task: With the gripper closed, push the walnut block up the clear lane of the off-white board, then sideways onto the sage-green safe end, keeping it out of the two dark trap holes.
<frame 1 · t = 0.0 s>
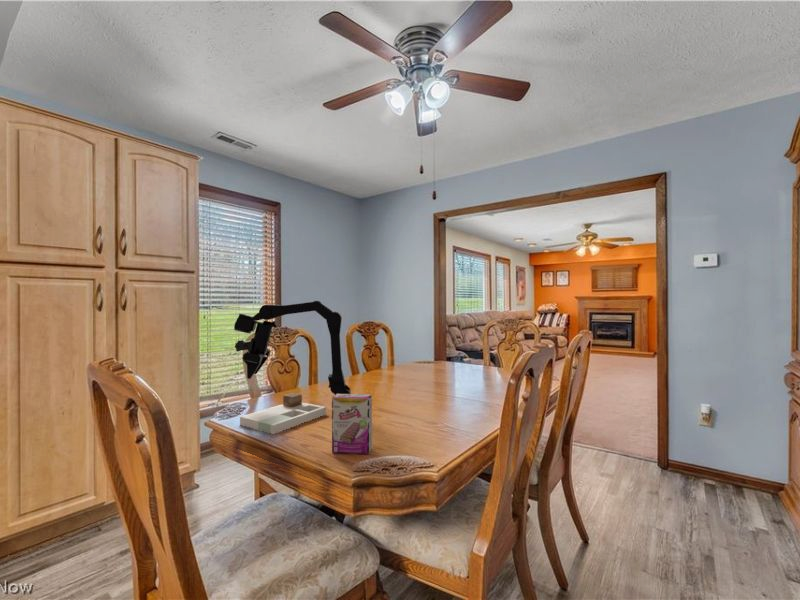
hand: (251, 376, 147), 15 cm above the table, tool pointing down, fingers open, 9 cm apart
walnut block: (292, 405, 151), point 3 cm above the table, touching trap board
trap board: (284, 419, 142), on the table
candy bar box: (352, 451, 112), on the table
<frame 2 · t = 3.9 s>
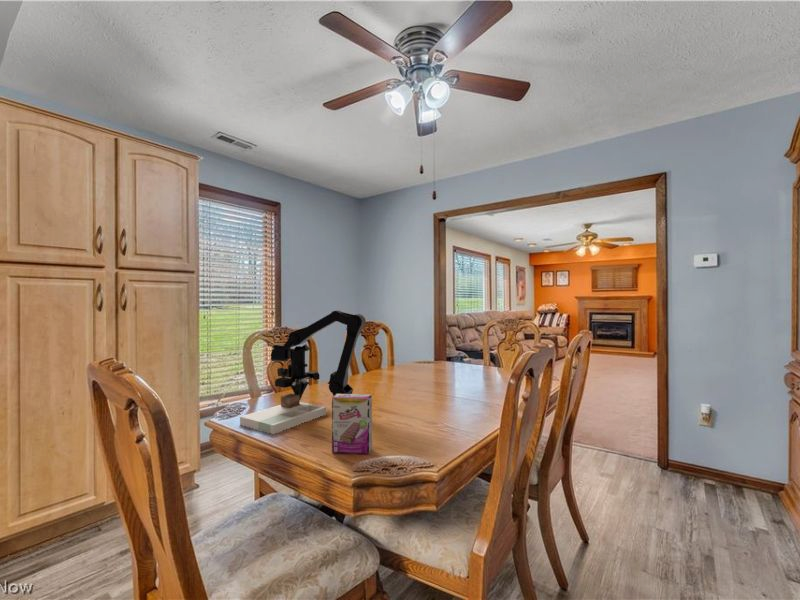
hand: (298, 400, 154), 4 cm above the table, tool pointing down, fingers closed
walnut block: (290, 405, 150), point 3 cm above the table, touching gripper
everything else where it was.
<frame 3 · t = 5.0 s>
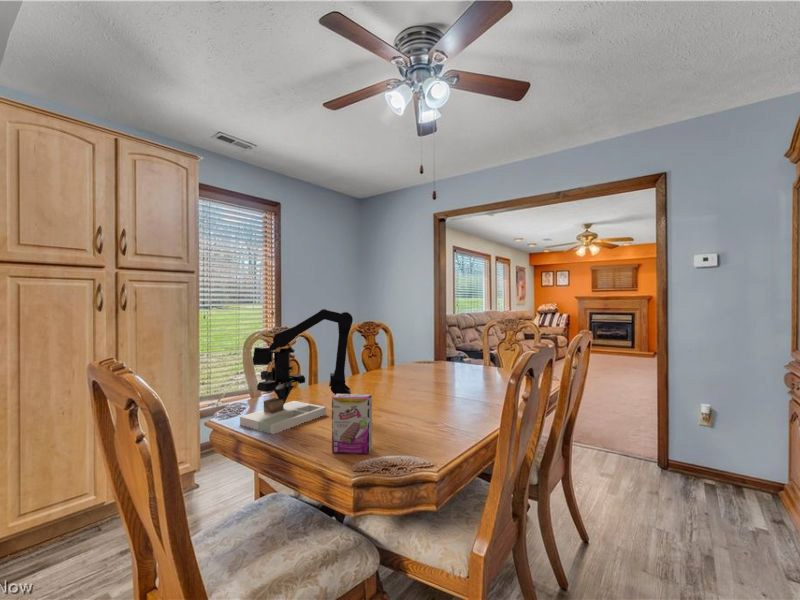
hand: (282, 404, 147), 4 cm above the table, tool pointing down, fingers closed
walnut block: (273, 410, 143), point 3 cm above the table, touching gripper, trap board
everything else where it was.
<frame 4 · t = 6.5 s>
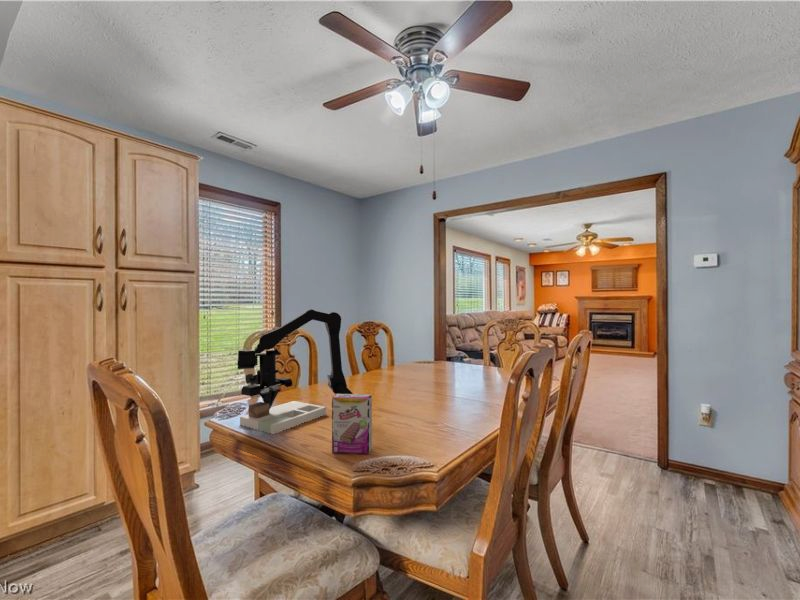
hand: (268, 409, 142), 4 cm above the table, tool pointing down, fingers closed
walnut block: (259, 415, 138), point 3 cm above the table, touching gripper, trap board
everything else where it was.
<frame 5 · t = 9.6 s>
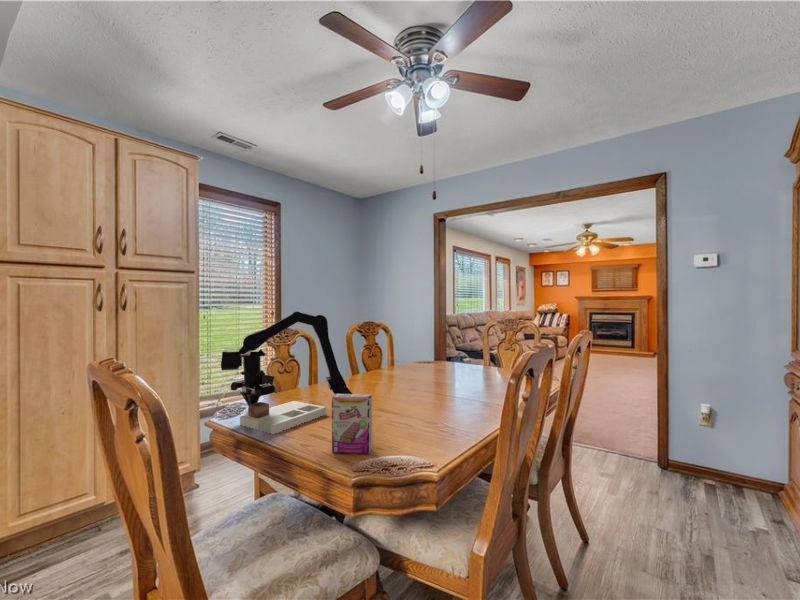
hand: (252, 410, 141), 4 cm above the table, tool pointing down, fingers closed
walnut block: (258, 415, 138), point 3 cm above the table, touching gripper
everything else where it was.
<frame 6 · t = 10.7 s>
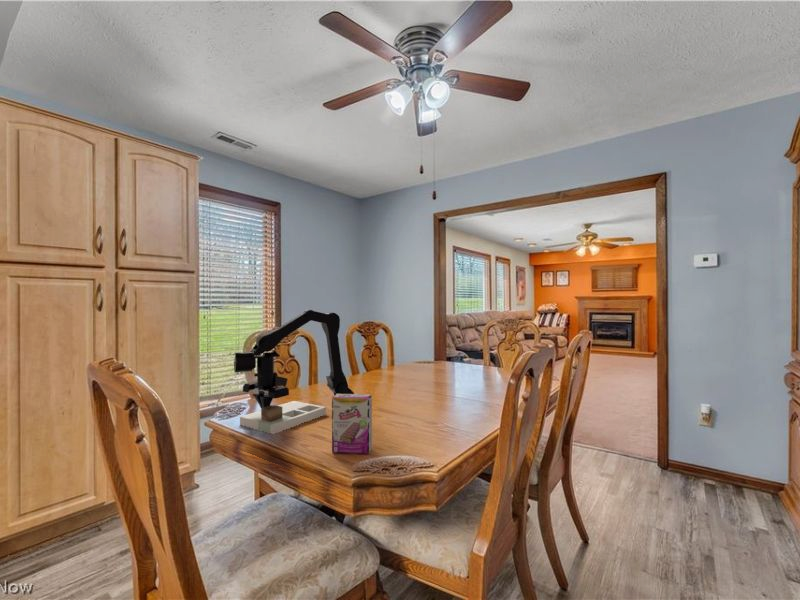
hand: (265, 413, 137), 4 cm above the table, tool pointing down, fingers closed
walnut block: (271, 418, 134), point 3 cm above the table, touching gripper
everything else where it was.
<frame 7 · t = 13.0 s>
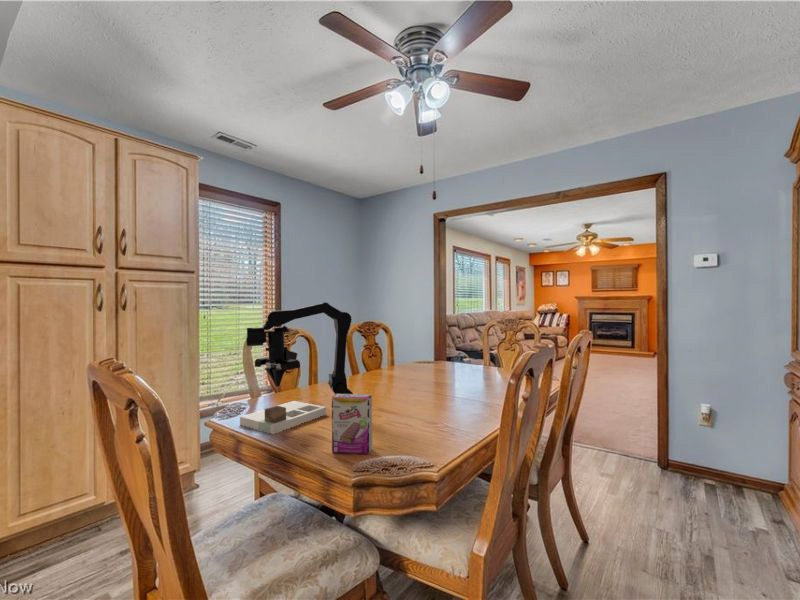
hand: (277, 386, 142), 12 cm above the table, tool pointing down, fingers closed
walnut block: (275, 419, 132), point 3 cm above the table, touching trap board
everything else where it was.
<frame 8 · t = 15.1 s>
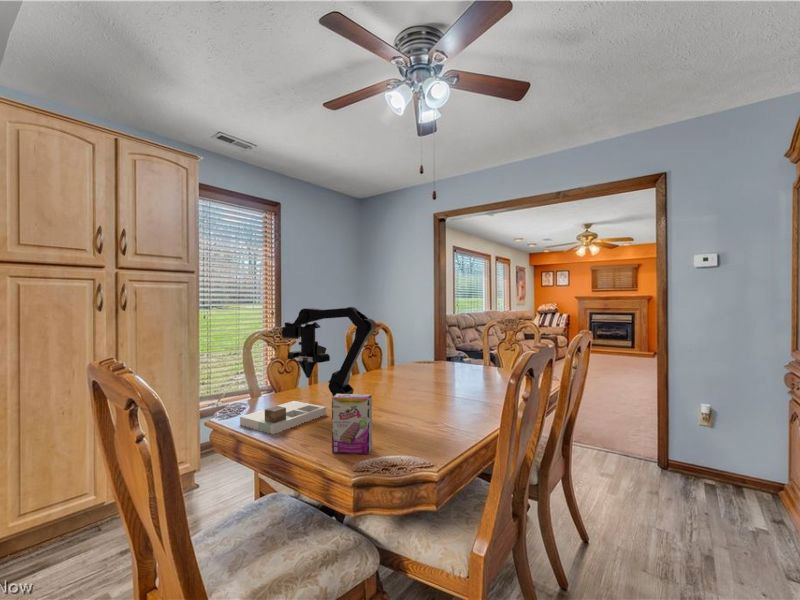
hand: (308, 377, 154), 13 cm above the table, tool pointing down, fingers closed
nothing on the table moved.
at the end: walnut block inside the target area on the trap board (0.6 cm from its centre), point 3.0 cm above the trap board's base; walnut block tilted 0°; walnut block moved 18.7 cm from its start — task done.
